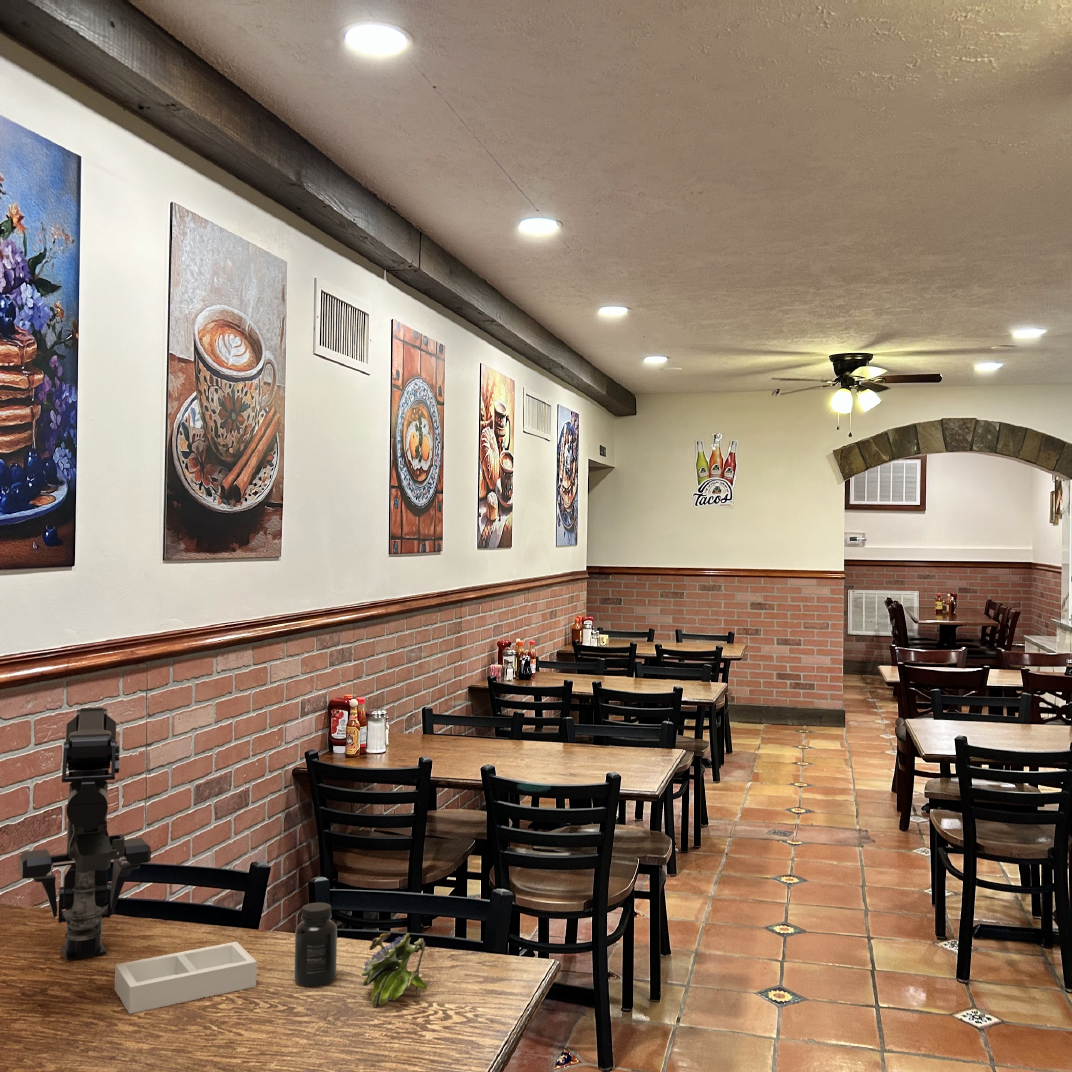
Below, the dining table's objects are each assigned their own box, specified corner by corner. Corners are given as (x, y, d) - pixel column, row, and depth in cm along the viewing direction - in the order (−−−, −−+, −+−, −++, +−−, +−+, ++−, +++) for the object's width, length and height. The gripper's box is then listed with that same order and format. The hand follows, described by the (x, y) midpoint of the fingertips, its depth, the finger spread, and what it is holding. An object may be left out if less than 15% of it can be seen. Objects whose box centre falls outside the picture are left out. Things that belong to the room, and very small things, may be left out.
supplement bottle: (343, 975, 171) (345, 903, 171) (322, 990, 165) (324, 915, 165) (308, 969, 173) (310, 898, 174) (285, 984, 167) (287, 910, 167)
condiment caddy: (114, 989, 163) (115, 964, 163) (235, 965, 174) (236, 941, 174) (129, 1013, 155) (130, 987, 155) (256, 986, 166) (256, 961, 166)
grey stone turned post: (96, 941, 159) (99, 863, 159) (56, 941, 158) (59, 863, 158) (108, 927, 165) (110, 852, 165) (70, 928, 164) (73, 853, 164)
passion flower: (377, 1021, 166) (388, 945, 173) (437, 1019, 163) (446, 942, 170) (343, 1003, 158) (356, 924, 165) (406, 1001, 154) (416, 920, 162)
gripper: (29, 831, 150) (25, 938, 150) (160, 817, 160) (157, 917, 160) (19, 815, 159) (16, 916, 159) (144, 802, 170) (141, 897, 169)
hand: (84, 912), depth 161 cm, fingers closed on grey stone turned post, 8 cm apart
